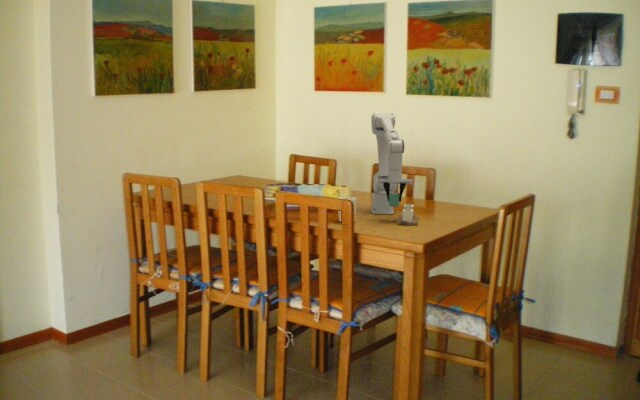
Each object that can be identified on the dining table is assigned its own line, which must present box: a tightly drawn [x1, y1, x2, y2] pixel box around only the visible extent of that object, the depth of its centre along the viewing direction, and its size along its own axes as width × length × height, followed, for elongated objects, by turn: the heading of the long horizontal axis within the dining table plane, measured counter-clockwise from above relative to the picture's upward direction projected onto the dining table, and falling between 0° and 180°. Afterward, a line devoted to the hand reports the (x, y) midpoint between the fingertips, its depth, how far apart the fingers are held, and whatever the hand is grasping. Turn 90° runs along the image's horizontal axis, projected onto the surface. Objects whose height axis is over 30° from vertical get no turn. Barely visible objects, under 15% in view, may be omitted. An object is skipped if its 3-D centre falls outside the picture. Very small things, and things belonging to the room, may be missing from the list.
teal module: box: [389, 192, 400, 208], centre depth 287 cm, size 4×4×5 cm
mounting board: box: [396, 214, 419, 227], centre depth 288 cm, size 8×16×2 cm, turn 171°
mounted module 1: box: [403, 203, 415, 213], centre depth 293 cm, size 4×4×4 cm
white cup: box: [337, 196, 358, 223], centre depth 286 cm, size 8×8×10 cm
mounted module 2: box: [402, 208, 414, 221], centre depth 282 cm, size 4×4×4 cm
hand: (394, 201), depth 287 cm, fingers closed on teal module, 4 cm apart
